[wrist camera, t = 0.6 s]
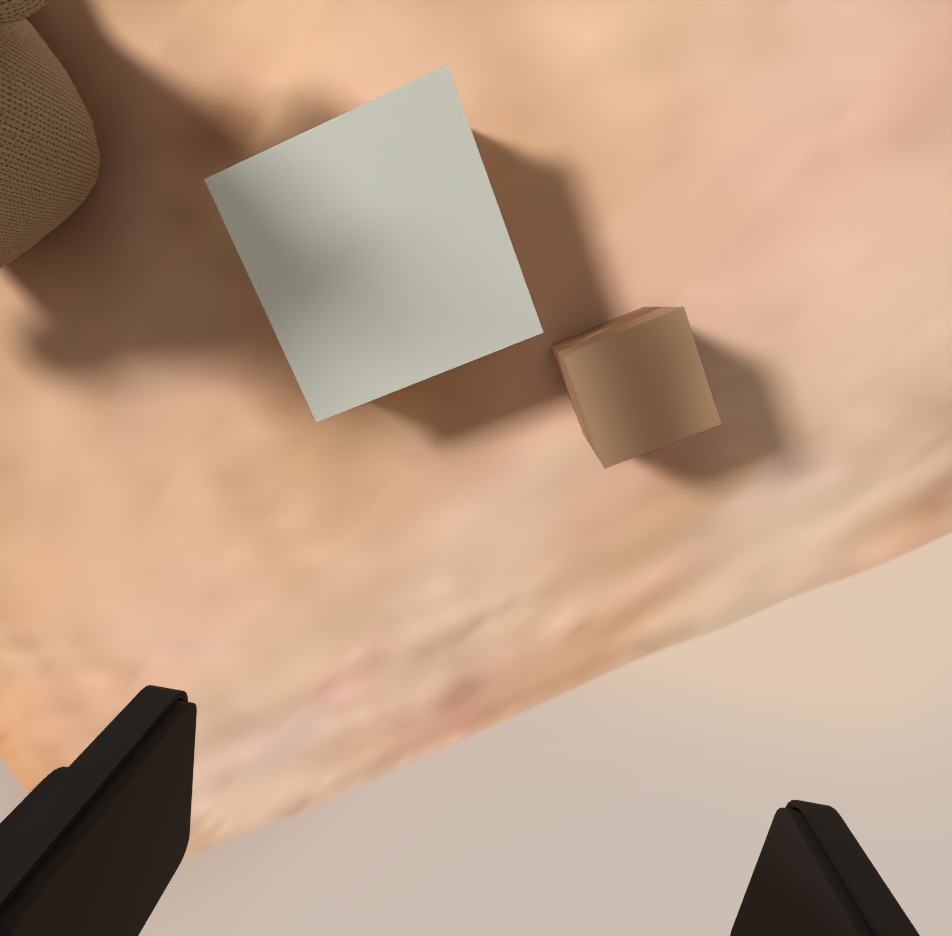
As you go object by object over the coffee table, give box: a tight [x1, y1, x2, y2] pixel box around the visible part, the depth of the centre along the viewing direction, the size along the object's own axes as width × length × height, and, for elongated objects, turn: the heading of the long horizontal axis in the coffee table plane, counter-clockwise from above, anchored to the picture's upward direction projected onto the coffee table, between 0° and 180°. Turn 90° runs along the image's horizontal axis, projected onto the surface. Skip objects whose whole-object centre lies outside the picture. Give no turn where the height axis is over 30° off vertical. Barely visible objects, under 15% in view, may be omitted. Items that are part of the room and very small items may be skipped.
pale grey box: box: [204, 65, 543, 422], centre depth 28 cm, size 11×11×6 cm
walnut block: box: [550, 307, 721, 468], centre depth 28 cm, size 5×5×7 cm
